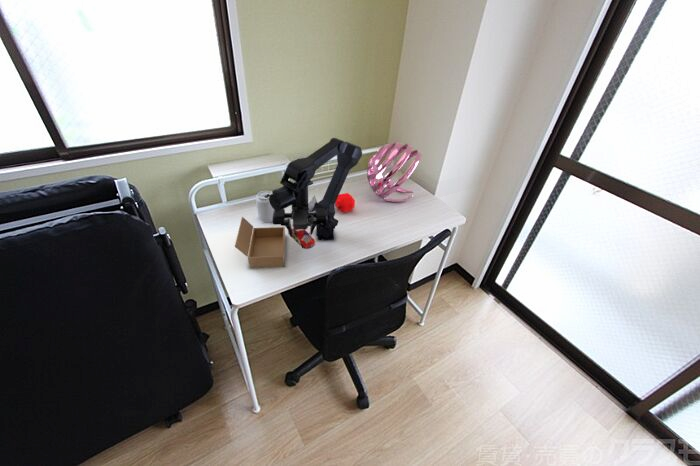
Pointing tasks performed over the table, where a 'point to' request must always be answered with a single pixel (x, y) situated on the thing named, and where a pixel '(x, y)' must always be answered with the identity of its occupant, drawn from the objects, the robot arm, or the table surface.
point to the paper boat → (312, 203)
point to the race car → (302, 238)
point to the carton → (267, 247)
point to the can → (264, 206)
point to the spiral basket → (386, 180)
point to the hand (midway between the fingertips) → (301, 234)
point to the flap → (244, 236)
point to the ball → (345, 203)
